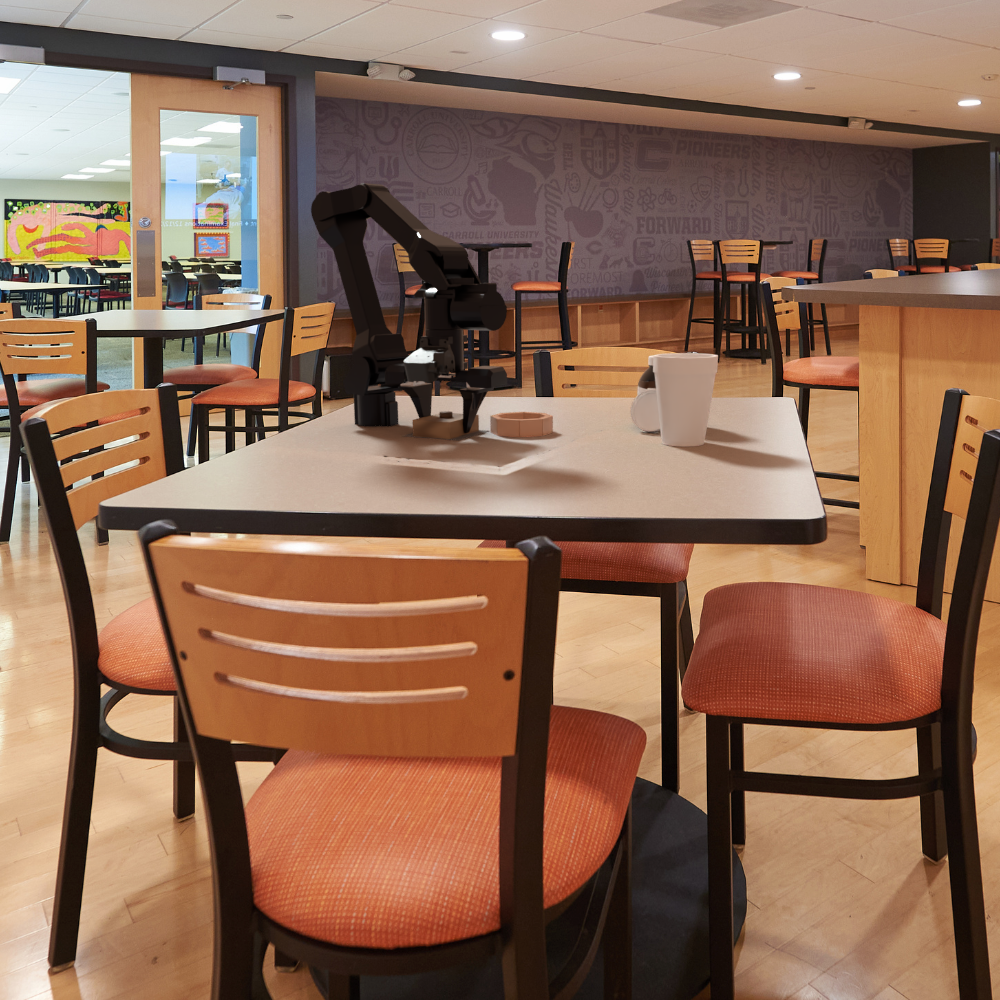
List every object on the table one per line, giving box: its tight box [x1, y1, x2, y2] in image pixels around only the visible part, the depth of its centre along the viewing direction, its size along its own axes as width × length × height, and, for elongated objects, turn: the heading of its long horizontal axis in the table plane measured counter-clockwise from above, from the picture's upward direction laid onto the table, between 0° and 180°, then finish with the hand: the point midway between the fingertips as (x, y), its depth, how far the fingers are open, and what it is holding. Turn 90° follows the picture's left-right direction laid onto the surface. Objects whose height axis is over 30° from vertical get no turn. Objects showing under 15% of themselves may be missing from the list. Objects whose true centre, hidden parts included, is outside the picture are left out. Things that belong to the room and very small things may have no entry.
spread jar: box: [629, 354, 661, 434], centre depth 160 cm, size 12×11×12 cm
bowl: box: [489, 411, 554, 438], centre depth 153 cm, size 9×9×4 cm
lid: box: [412, 410, 480, 440], centre depth 152 cm, size 6×9×3 cm
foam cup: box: [653, 352, 719, 448], centre depth 146 cm, size 10×9×13 cm
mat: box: [402, 429, 490, 441], centre depth 152 cm, size 10×10×1 cm
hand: (446, 431), depth 152 cm, fingers open, 7 cm apart
